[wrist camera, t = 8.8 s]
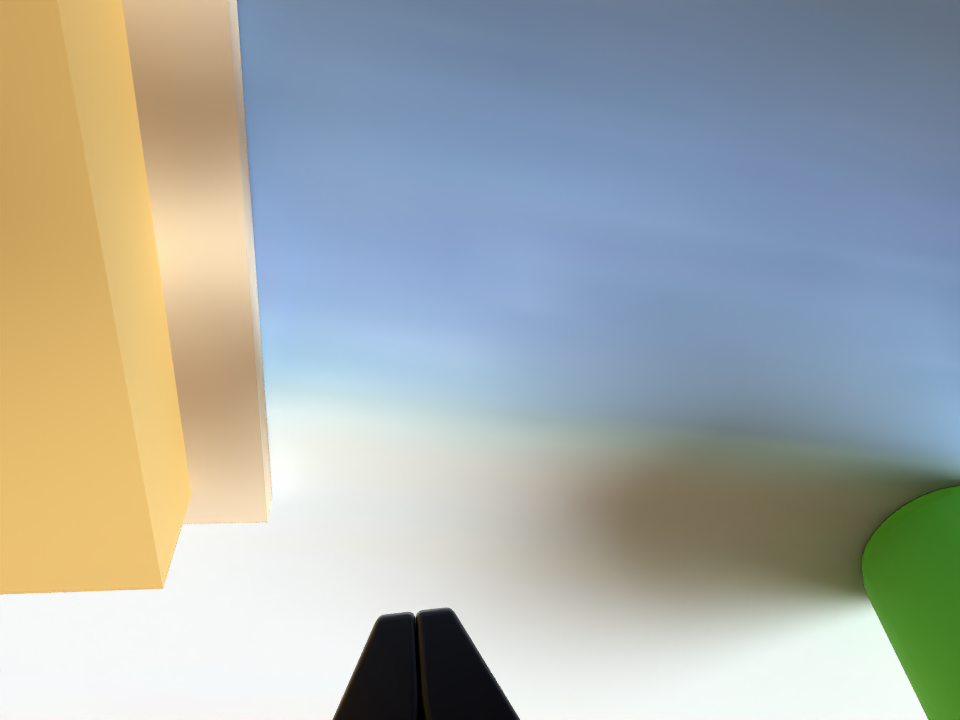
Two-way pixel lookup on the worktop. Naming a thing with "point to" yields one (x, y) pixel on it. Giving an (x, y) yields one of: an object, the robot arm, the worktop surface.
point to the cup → (921, 595)
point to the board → (205, 245)
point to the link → (81, 315)
